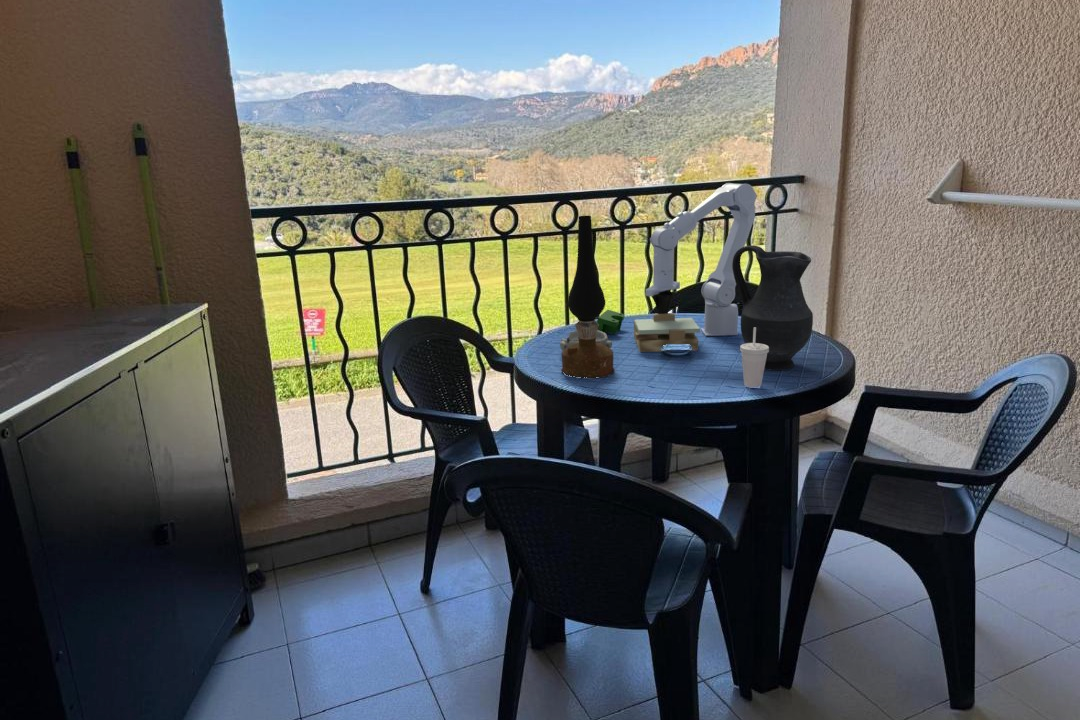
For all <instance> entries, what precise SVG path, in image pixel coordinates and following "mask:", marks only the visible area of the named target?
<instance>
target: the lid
mask: <svg viewBox="0 0 1080 720" xmlns="http://www.w3.org/2000/svg"><path fill="white" fill-rule="evenodd" d="M652 315H653V317H652V318H649V319H648V318H645V319H644V318H643V319H641V318H640V319H634V320H635V326H636V328H637V331H638V333H639V334H669V340H670V341H675V340H685V333H695V334H699V333H700V332H701V328H700V326H699V325H698V324H697V323H696V322H695V320H694V319H693V317H677V318H676V314H675V312H674V313H673V312H672V313H671V312H670V313H669V312H668V313H664V314H658V313H652Z"/></svg>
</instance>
